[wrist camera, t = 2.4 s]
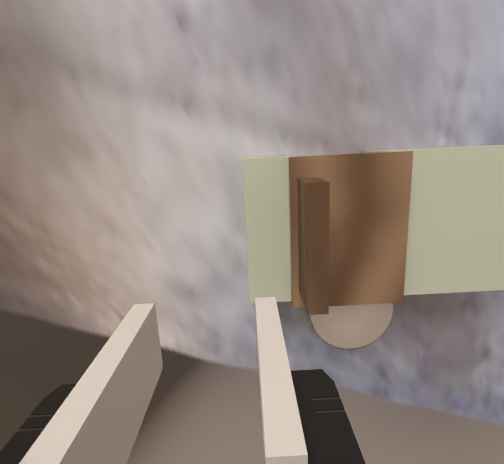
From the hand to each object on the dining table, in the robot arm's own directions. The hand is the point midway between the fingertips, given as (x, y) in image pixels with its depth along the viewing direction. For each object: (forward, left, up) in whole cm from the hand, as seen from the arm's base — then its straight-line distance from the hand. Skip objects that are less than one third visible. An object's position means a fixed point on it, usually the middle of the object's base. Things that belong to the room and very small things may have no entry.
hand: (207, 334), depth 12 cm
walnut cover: (+10, 0, -14) cm, 17 cm away
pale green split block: (+14, 0, -23) cm, 26 cm away
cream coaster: (+13, -11, -23) cm, 28 cm away
